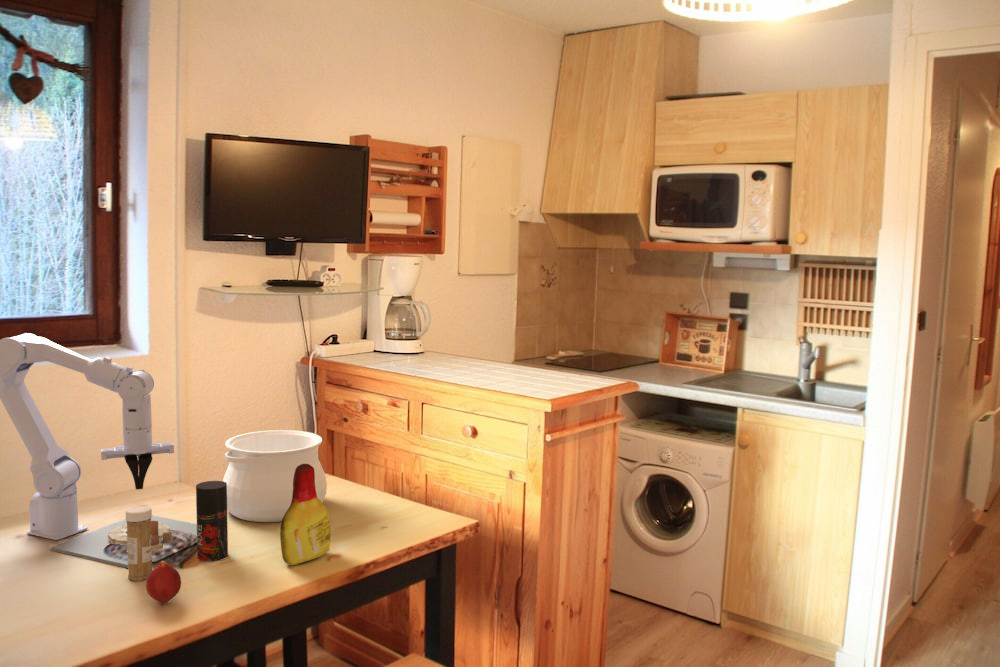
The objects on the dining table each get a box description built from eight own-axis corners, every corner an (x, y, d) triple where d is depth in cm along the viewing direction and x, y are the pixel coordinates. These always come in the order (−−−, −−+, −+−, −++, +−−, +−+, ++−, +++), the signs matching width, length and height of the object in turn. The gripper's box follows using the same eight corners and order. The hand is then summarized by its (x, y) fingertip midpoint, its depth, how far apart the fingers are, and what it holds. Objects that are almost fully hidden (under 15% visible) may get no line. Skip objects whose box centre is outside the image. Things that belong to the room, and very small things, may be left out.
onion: (152, 597, 152) (151, 554, 151) (185, 596, 152) (184, 554, 151) (141, 611, 146) (140, 567, 145) (176, 610, 146) (175, 566, 145)
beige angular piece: (103, 534, 180) (102, 508, 179) (159, 523, 187) (158, 499, 186) (124, 558, 167) (123, 531, 166) (183, 546, 174) (183, 520, 173)
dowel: (161, 546, 174) (160, 533, 174) (167, 543, 176) (167, 530, 176) (167, 547, 174) (167, 534, 173) (174, 544, 175) (173, 531, 175)
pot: (283, 487, 219) (283, 424, 217) (349, 506, 205) (349, 438, 203) (198, 511, 198) (196, 442, 197) (264, 534, 184) (263, 460, 182)
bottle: (291, 572, 164) (290, 472, 162) (270, 564, 168) (269, 466, 166) (337, 554, 173) (337, 460, 171) (317, 547, 177) (316, 455, 175)
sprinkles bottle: (155, 578, 160) (153, 509, 158) (129, 583, 157) (127, 513, 156) (150, 570, 164) (148, 503, 162) (125, 574, 161) (123, 507, 159)
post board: (50, 549, 173) (49, 525, 172) (141, 515, 195) (141, 494, 194) (137, 570, 163) (136, 544, 163) (222, 531, 185) (222, 509, 185)
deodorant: (234, 553, 173) (232, 482, 171) (215, 563, 167) (214, 490, 166) (210, 549, 175) (208, 479, 173) (191, 559, 169) (189, 487, 168)
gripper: (101, 434, 175) (103, 497, 176) (175, 427, 182) (176, 488, 183) (99, 427, 181) (101, 488, 182) (171, 421, 188) (172, 480, 189)
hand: (139, 488), depth 183 cm, fingers closed
